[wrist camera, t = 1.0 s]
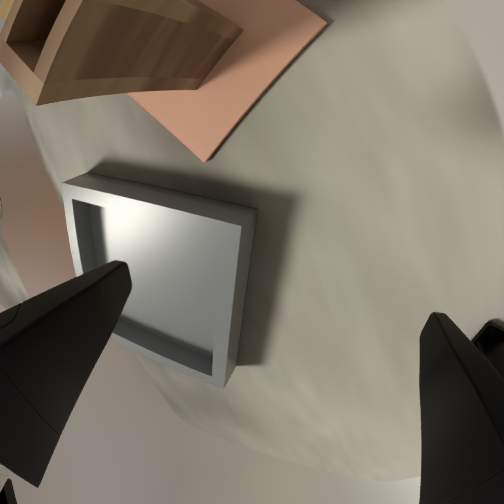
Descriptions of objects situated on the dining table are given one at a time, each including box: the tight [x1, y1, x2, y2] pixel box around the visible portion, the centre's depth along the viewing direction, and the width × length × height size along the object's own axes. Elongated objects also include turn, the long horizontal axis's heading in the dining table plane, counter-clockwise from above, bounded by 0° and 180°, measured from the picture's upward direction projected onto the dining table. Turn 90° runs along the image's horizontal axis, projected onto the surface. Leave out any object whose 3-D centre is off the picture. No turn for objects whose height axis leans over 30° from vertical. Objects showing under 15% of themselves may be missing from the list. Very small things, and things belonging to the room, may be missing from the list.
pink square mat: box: [127, 0, 327, 163], centre depth 15 cm, size 12×12×5 cm
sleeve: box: [0, 0, 244, 106], centre depth 11 cm, size 7×5×12 cm
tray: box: [62, 173, 257, 389], centre depth 26 cm, size 16×16×3 cm
